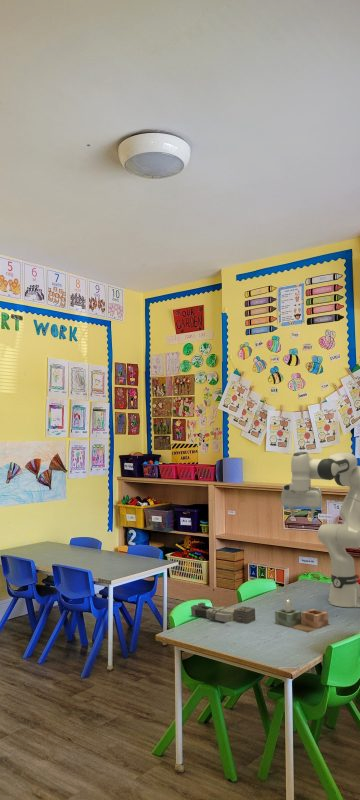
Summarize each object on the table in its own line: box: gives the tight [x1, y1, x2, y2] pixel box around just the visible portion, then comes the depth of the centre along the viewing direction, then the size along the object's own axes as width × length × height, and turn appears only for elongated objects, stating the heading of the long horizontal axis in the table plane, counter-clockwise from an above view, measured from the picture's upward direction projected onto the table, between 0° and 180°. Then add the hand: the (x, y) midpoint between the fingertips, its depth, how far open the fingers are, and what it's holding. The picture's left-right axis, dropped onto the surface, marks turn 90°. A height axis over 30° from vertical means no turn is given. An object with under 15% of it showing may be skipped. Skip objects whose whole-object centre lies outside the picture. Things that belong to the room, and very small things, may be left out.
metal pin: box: [283, 598, 293, 613], centre depth 249 cm, size 3×3×10 cm
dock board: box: [274, 607, 331, 633], centre depth 248 cm, size 16×18×6 cm
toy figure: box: [190, 602, 256, 624], centre depth 261 cm, size 11×7×30 cm
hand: (302, 516), depth 266 cm, fingers open, 8 cm apart
